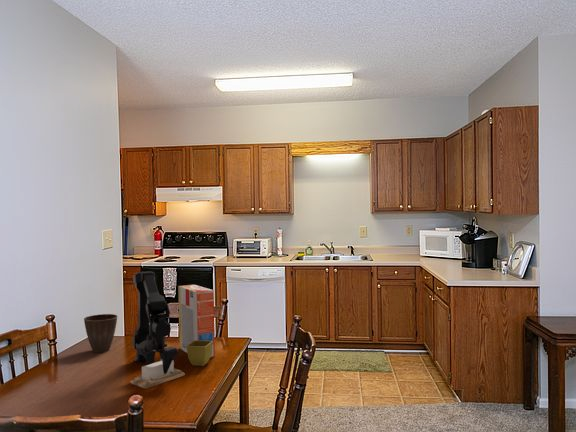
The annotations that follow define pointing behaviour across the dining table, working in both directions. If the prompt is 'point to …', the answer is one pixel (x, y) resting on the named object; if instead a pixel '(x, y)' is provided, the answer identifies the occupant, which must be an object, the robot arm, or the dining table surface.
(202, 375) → the dining table surface
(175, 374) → the beige rectangular tray
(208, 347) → the flower pot
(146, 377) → the door
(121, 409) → the dining table surface
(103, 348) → the plant pot
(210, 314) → the pasta box
